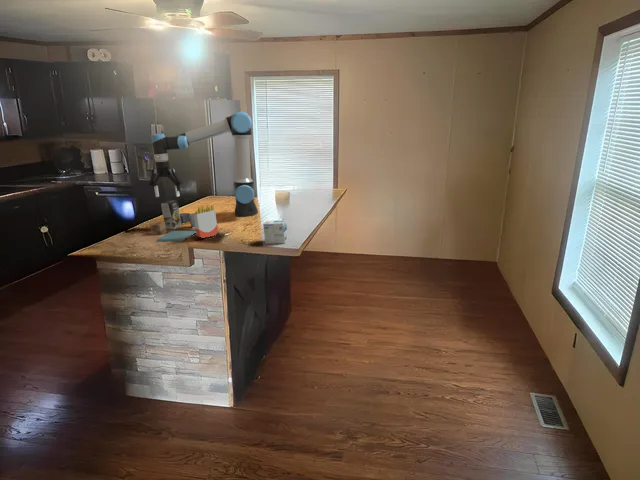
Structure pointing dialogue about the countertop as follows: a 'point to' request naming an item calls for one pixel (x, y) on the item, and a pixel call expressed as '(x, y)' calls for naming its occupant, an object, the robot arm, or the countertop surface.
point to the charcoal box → (184, 217)
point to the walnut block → (158, 228)
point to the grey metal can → (192, 219)
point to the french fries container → (205, 222)
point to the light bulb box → (275, 232)
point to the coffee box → (171, 214)
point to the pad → (176, 236)
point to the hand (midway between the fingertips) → (167, 196)
